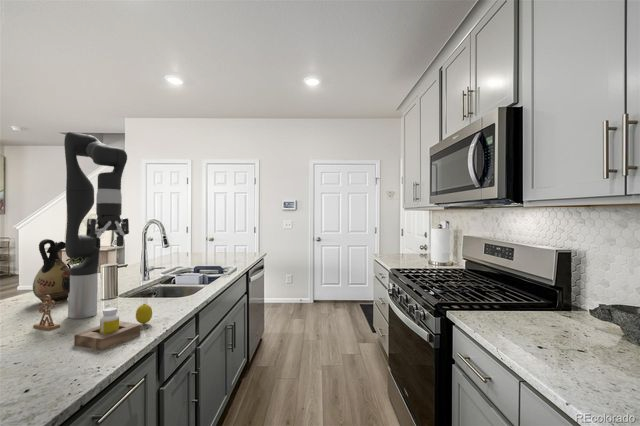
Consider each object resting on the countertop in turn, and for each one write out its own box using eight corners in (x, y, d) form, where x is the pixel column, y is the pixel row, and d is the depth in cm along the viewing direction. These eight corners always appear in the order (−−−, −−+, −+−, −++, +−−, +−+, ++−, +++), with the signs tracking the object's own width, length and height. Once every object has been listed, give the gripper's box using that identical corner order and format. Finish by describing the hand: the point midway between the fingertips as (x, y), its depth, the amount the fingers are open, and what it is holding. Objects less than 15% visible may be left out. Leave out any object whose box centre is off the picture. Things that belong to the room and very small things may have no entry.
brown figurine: (32, 327, 116) (33, 295, 116) (44, 324, 120) (45, 292, 120) (48, 330, 113) (49, 297, 113) (60, 327, 117) (61, 294, 117)
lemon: (144, 327, 117) (145, 306, 117) (132, 326, 118) (132, 305, 118) (155, 322, 122) (155, 302, 122) (143, 321, 123) (143, 301, 124)
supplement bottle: (122, 336, 108) (123, 307, 108) (107, 342, 102) (108, 312, 102) (111, 334, 109) (111, 306, 109) (95, 340, 104) (96, 310, 104)
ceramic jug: (55, 296, 158) (56, 237, 158) (82, 298, 156) (83, 237, 156) (18, 306, 141) (20, 239, 142) (48, 308, 139) (49, 240, 139)
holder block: (74, 345, 101) (74, 334, 101) (114, 330, 114) (114, 320, 114) (101, 350, 97) (102, 339, 97) (140, 334, 110) (140, 324, 110)
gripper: (119, 203, 121) (118, 245, 121) (81, 201, 107) (80, 249, 107) (134, 203, 118) (133, 246, 118) (97, 201, 105) (96, 250, 105)
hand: (108, 247), depth 113 cm, fingers open, 8 cm apart
